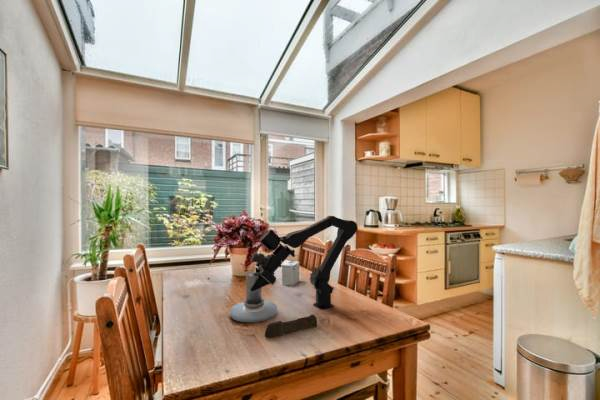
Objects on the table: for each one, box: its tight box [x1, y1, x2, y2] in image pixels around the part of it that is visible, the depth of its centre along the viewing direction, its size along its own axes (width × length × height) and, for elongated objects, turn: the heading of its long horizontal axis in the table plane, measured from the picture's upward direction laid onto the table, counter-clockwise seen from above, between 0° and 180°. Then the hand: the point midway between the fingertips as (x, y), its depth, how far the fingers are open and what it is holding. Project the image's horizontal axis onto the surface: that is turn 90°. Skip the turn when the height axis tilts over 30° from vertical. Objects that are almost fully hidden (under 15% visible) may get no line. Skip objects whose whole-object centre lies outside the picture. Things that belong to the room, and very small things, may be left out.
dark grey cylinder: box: [243, 271, 265, 308], centre depth 111 cm, size 8×8×12 cm
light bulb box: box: [281, 260, 301, 287], centre depth 155 cm, size 11×7×11 cm, turn 161°
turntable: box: [230, 299, 278, 323], centre depth 111 cm, size 18×18×2 cm
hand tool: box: [264, 314, 318, 339], centre depth 96 cm, size 19×4×5 cm, turn 117°
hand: (250, 288), depth 111 cm, fingers closed on dark grey cylinder, 6 cm apart
